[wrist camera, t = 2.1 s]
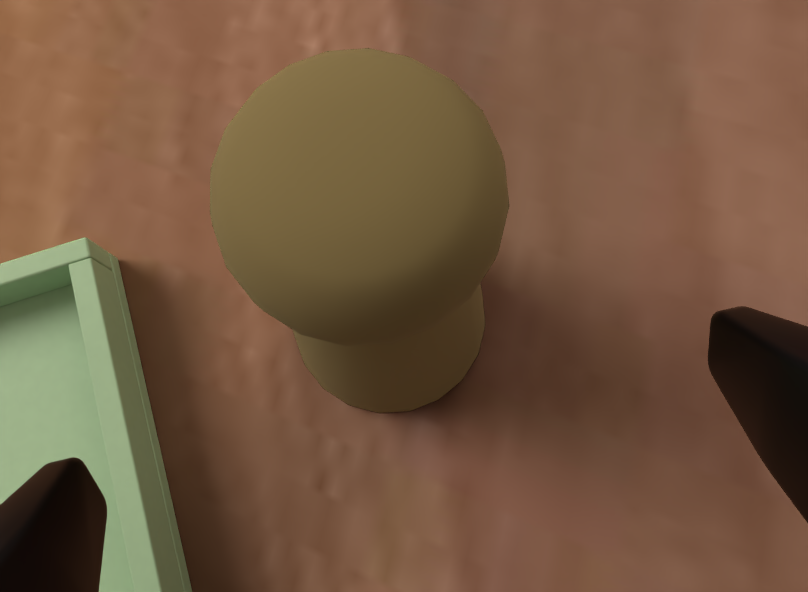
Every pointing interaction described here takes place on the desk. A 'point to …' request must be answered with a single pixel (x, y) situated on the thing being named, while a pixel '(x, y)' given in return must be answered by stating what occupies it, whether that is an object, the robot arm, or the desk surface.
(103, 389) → the tray
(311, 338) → the olive brown pawn
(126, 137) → the desk surface
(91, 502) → the robot arm
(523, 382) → the desk surface
